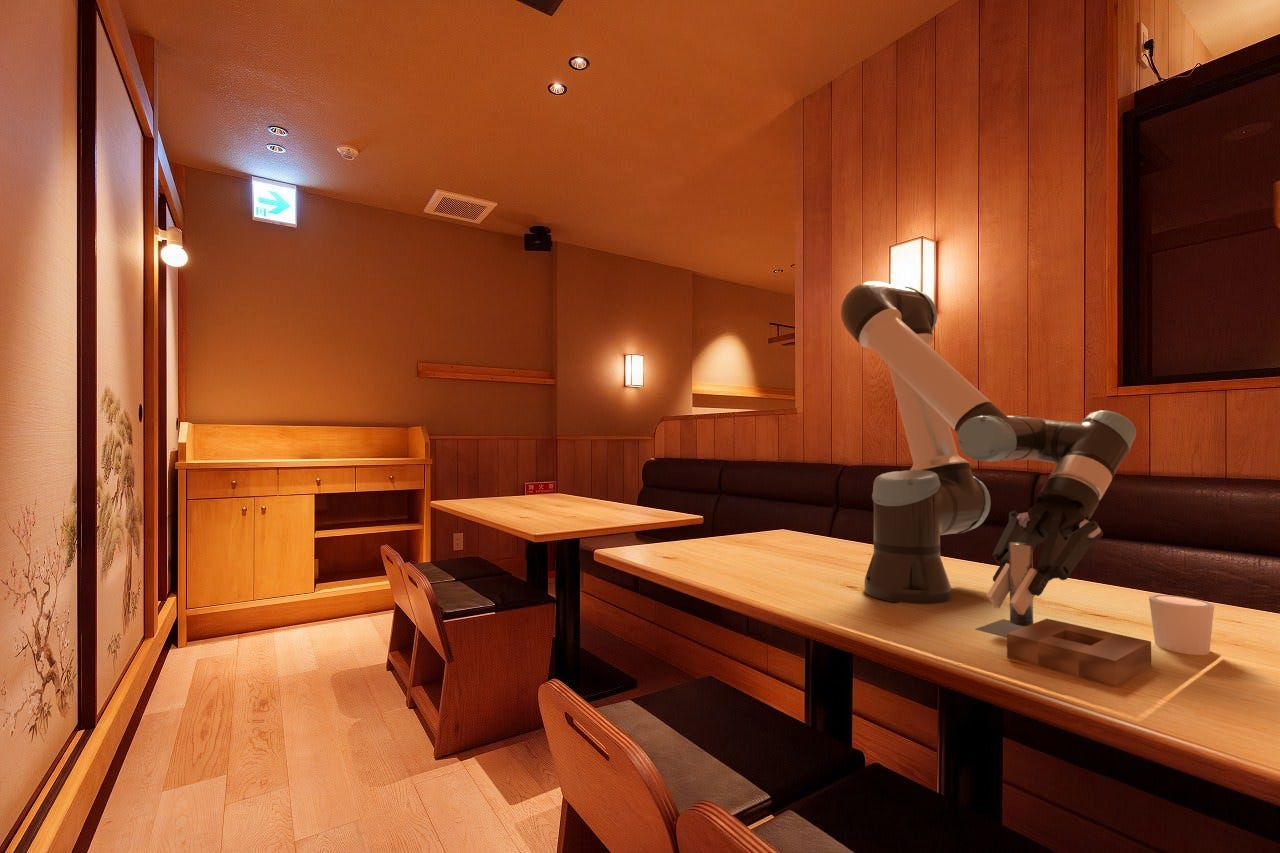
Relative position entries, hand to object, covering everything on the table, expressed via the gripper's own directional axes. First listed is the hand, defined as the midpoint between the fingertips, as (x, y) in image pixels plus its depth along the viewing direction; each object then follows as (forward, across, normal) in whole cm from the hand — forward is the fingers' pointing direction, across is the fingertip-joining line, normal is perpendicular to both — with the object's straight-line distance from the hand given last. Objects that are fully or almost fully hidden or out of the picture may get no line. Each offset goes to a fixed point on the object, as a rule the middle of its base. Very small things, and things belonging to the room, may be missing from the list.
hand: (1004, 605), depth 89 cm
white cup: (-9, -14, -16) cm, 23 cm away
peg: (0, 0, -5) cm, 5 cm away
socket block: (+4, -11, -2) cm, 12 cm away
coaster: (+1, 0, -6) cm, 6 cm away
